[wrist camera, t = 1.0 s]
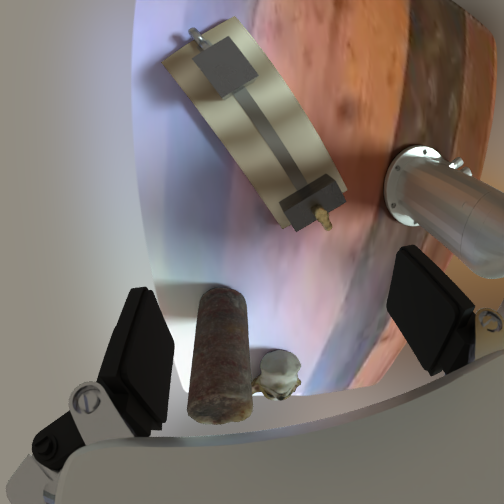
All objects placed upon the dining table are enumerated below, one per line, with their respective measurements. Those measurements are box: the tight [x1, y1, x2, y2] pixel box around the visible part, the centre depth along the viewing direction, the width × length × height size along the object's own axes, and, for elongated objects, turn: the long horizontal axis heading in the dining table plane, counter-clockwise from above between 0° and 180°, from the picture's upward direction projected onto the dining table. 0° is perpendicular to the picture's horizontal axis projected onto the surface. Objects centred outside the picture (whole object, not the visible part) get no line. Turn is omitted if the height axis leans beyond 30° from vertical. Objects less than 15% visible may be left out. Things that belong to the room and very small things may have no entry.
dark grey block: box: [188, 28, 259, 100], centre depth 22 cm, size 10×4×6 cm, turn 33°
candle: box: [187, 288, 253, 425], centre depth 34 cm, size 8×7×20 cm
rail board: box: [161, 16, 347, 229], centre depth 30 cm, size 26×10×2 cm, turn 33°
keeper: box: [279, 174, 346, 232], centre depth 32 cm, size 4×7×6 cm, turn 123°
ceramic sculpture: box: [251, 350, 301, 400], centre depth 49 cm, size 11×9×15 cm
